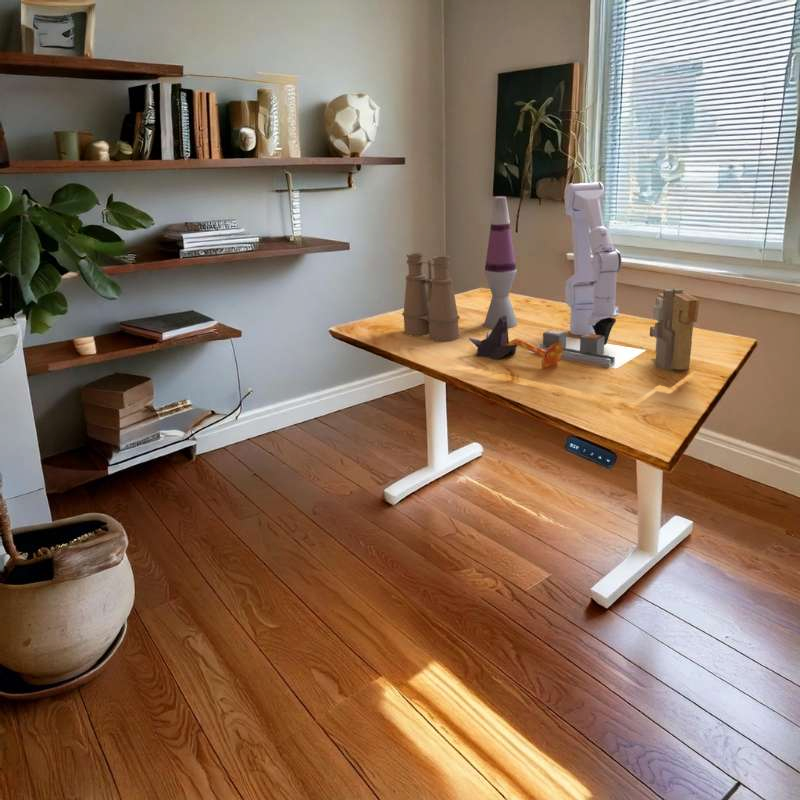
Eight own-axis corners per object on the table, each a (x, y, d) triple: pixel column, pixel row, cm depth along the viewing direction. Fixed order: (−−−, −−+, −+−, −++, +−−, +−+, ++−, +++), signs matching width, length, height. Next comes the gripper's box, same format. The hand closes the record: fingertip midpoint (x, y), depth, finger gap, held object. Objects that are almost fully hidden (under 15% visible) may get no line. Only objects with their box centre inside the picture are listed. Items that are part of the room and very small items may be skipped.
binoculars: (466, 336, 213) (464, 255, 204) (445, 344, 207) (442, 261, 198) (417, 326, 227) (414, 250, 218) (396, 333, 221) (392, 255, 211)
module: (587, 350, 190) (587, 332, 188) (603, 353, 187) (604, 335, 185) (579, 354, 187) (580, 335, 185) (596, 357, 184) (597, 338, 182)
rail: (540, 350, 192) (540, 343, 192) (614, 364, 178) (614, 356, 178) (534, 353, 190) (535, 346, 190) (609, 367, 176) (609, 359, 176)
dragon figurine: (543, 347, 172) (470, 310, 187) (534, 388, 178) (463, 350, 193) (568, 337, 179) (495, 302, 193) (557, 377, 185) (488, 341, 200)
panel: (561, 339, 204) (561, 335, 204) (646, 354, 188) (646, 350, 187) (528, 356, 192) (528, 351, 192) (616, 373, 176) (616, 368, 175)
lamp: (478, 322, 227) (476, 197, 212) (508, 318, 230) (508, 194, 215) (492, 330, 217) (491, 199, 203) (523, 326, 220) (524, 196, 205)
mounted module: (550, 346, 195) (550, 328, 193) (565, 349, 192) (566, 331, 190) (542, 350, 192) (543, 332, 190) (558, 353, 189) (559, 335, 187)
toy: (669, 358, 184) (676, 284, 177) (697, 379, 168) (706, 299, 161) (645, 359, 184) (651, 285, 176) (671, 381, 168) (679, 301, 161)
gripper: (605, 303, 179) (603, 353, 184) (630, 292, 188) (627, 339, 193) (581, 300, 183) (579, 349, 188) (606, 289, 193) (603, 336, 198)
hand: (601, 344), depth 191 cm, fingers closed
